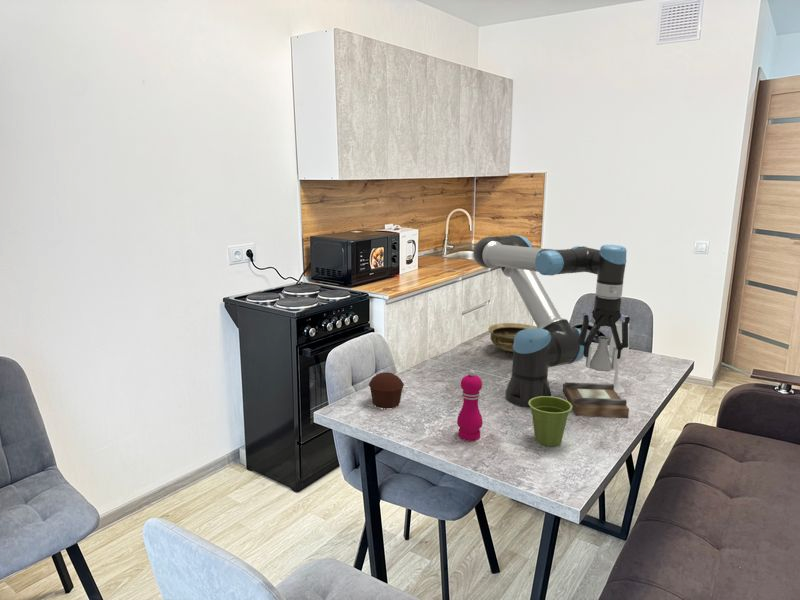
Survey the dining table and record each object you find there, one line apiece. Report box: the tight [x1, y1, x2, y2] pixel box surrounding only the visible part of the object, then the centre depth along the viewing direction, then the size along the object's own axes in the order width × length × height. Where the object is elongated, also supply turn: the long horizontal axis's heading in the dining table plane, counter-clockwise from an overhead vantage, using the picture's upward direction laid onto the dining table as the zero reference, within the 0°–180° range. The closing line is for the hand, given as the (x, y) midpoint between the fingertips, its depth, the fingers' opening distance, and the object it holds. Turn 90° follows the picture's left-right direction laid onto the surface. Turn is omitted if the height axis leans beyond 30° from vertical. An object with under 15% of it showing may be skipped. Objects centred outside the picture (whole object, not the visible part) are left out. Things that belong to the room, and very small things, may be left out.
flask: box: [589, 335, 613, 372], centre depth 174 cm, size 7×7×10 cm
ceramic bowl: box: [488, 322, 538, 356], centre depth 235 cm, size 30×24×10 cm
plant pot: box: [528, 396, 572, 447], centre depth 157 cm, size 12×12×11 cm
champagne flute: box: [608, 321, 630, 394], centre depth 194 cm, size 7×7×24 cm
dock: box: [561, 381, 630, 419], centre depth 184 cm, size 16×20×4 cm
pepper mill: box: [456, 369, 483, 442], centre depth 159 cm, size 7×7×20 cm
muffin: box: [368, 371, 405, 410], centre depth 182 cm, size 12×11×10 cm
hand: (600, 367), depth 175 cm, fingers closed on flask, 7 cm apart
